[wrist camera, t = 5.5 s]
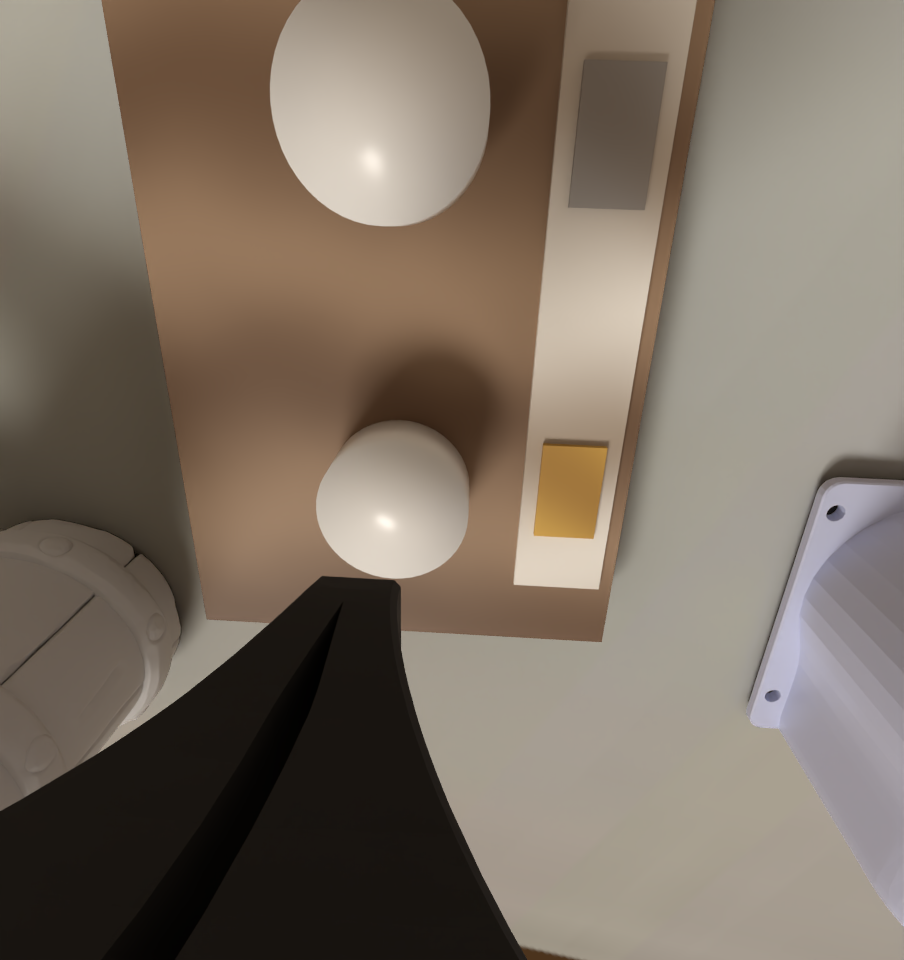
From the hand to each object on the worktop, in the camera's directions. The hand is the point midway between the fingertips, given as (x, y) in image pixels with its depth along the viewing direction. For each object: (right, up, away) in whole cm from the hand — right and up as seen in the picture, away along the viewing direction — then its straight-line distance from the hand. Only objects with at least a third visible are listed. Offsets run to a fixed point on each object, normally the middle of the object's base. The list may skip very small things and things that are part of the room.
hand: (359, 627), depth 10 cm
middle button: (0, +9, +1) cm, 9 cm away
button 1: (0, +2, +5) cm, 6 cm away
